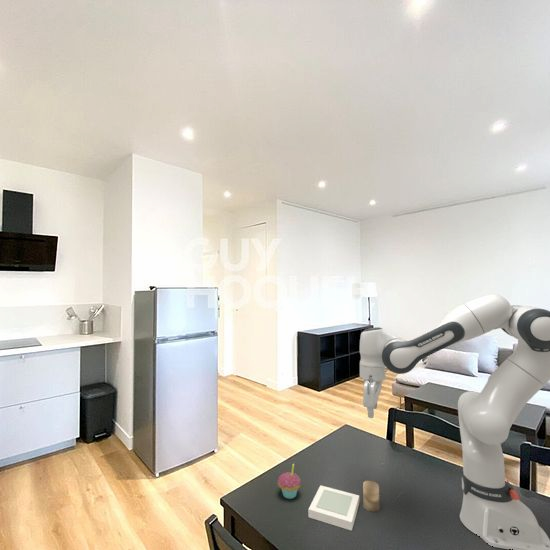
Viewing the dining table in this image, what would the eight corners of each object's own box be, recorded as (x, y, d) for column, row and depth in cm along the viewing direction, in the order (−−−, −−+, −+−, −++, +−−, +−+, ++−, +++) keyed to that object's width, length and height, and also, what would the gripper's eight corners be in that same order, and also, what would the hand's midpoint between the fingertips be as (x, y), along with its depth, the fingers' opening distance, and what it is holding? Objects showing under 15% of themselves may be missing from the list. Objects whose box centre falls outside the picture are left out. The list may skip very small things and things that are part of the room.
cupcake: (305, 492, 112) (304, 458, 113) (293, 505, 105) (293, 469, 106) (285, 484, 117) (285, 452, 118) (272, 496, 110) (272, 462, 111)
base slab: (359, 503, 106) (359, 494, 106) (351, 530, 94) (351, 521, 94) (320, 492, 112) (320, 484, 112) (308, 517, 99) (308, 508, 100)
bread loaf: (380, 503, 106) (379, 482, 106) (378, 513, 101) (377, 491, 102) (364, 499, 108) (364, 479, 108) (362, 509, 103) (361, 487, 104)
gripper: (378, 381, 99) (378, 425, 98) (384, 368, 117) (384, 405, 116) (358, 378, 101) (358, 421, 100) (367, 366, 120) (367, 402, 119)
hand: (372, 412), depth 108 cm, fingers open, 8 cm apart
